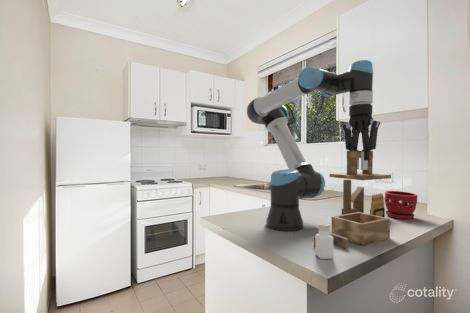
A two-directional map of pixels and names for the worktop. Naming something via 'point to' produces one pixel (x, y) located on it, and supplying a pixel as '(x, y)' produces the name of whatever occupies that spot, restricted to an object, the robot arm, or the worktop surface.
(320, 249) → the pepper shaker
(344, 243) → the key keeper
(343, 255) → the worktop surface
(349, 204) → the wooden block
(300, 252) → the worktop surface
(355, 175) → the wooden post stand
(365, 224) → the open wooden box
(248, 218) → the worktop surface
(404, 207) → the plant pot
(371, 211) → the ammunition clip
